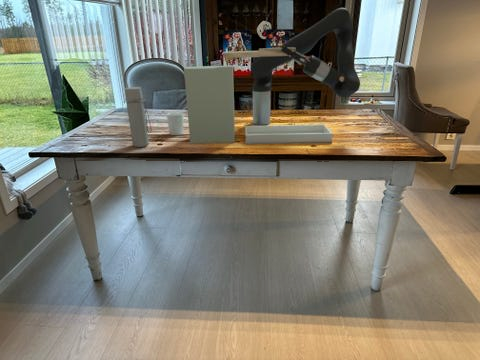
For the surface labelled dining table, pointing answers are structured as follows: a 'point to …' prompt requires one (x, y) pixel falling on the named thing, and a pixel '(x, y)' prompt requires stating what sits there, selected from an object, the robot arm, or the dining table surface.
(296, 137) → the tray
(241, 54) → the beige long bar
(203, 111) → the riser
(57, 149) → the dining table surface
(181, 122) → the white cup
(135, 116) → the water bottle
